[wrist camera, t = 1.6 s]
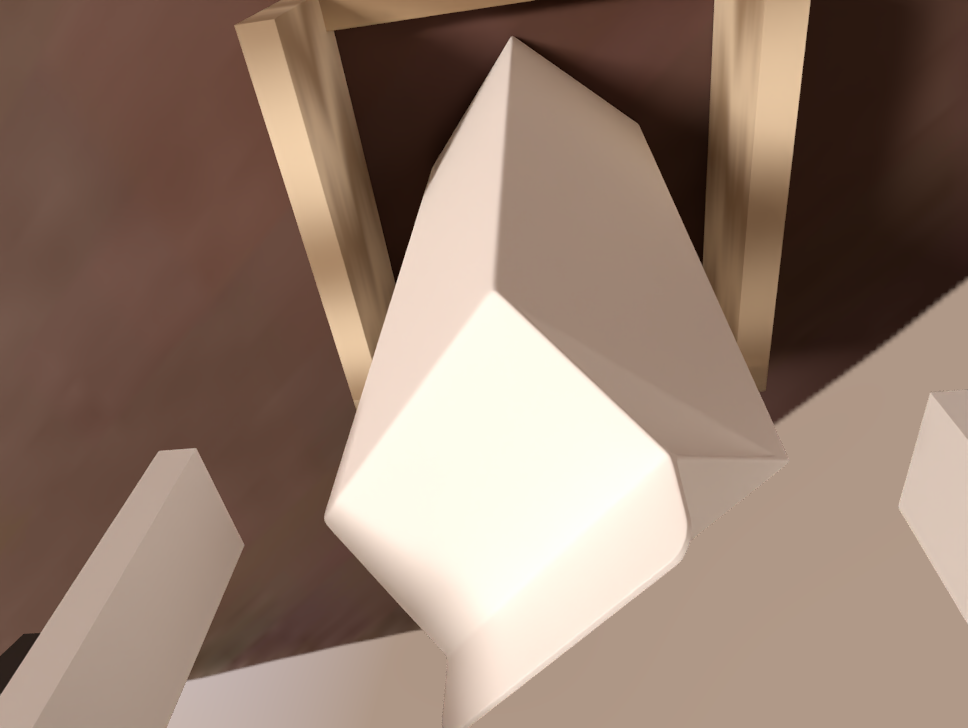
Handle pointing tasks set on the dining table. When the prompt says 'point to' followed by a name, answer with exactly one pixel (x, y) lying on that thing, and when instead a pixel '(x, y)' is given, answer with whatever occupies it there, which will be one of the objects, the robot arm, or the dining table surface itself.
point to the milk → (543, 390)
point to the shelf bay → (353, 3)
